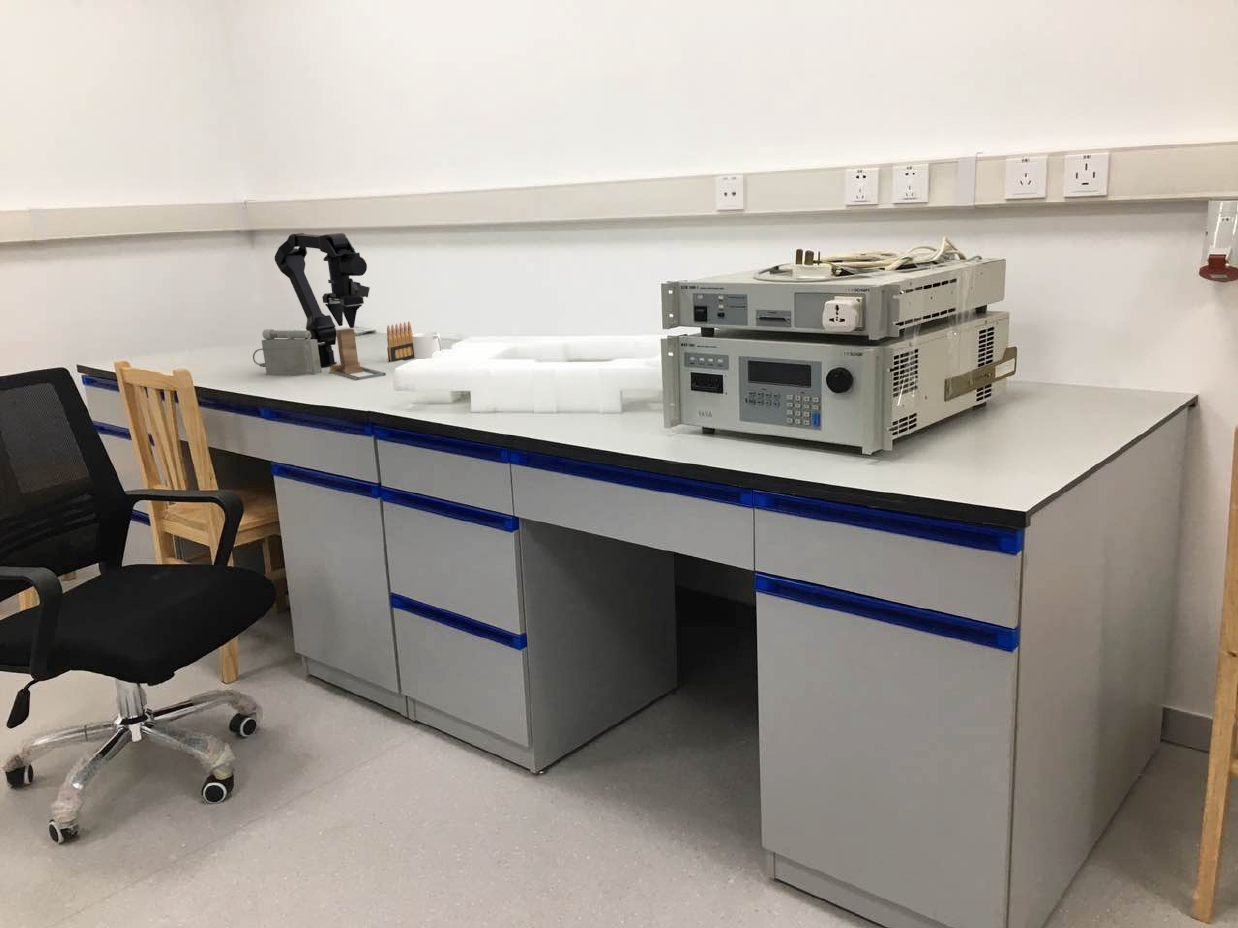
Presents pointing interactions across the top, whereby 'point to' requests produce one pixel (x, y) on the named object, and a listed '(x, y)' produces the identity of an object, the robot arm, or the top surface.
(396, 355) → the ammunition clip
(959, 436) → the top surface
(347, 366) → the plate
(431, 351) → the cup
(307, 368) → the geiger counter
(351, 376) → the track
